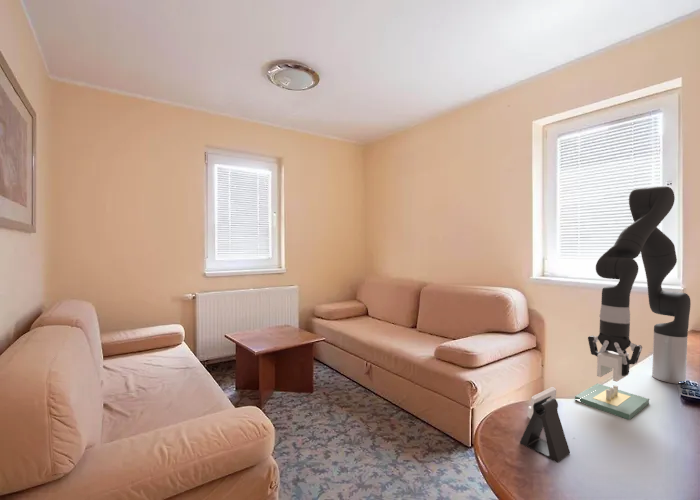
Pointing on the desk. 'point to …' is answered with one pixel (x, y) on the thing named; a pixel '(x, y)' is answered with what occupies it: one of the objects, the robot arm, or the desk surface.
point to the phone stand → (546, 431)
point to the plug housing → (610, 364)
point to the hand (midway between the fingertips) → (612, 372)
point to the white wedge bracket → (546, 393)
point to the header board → (613, 400)
